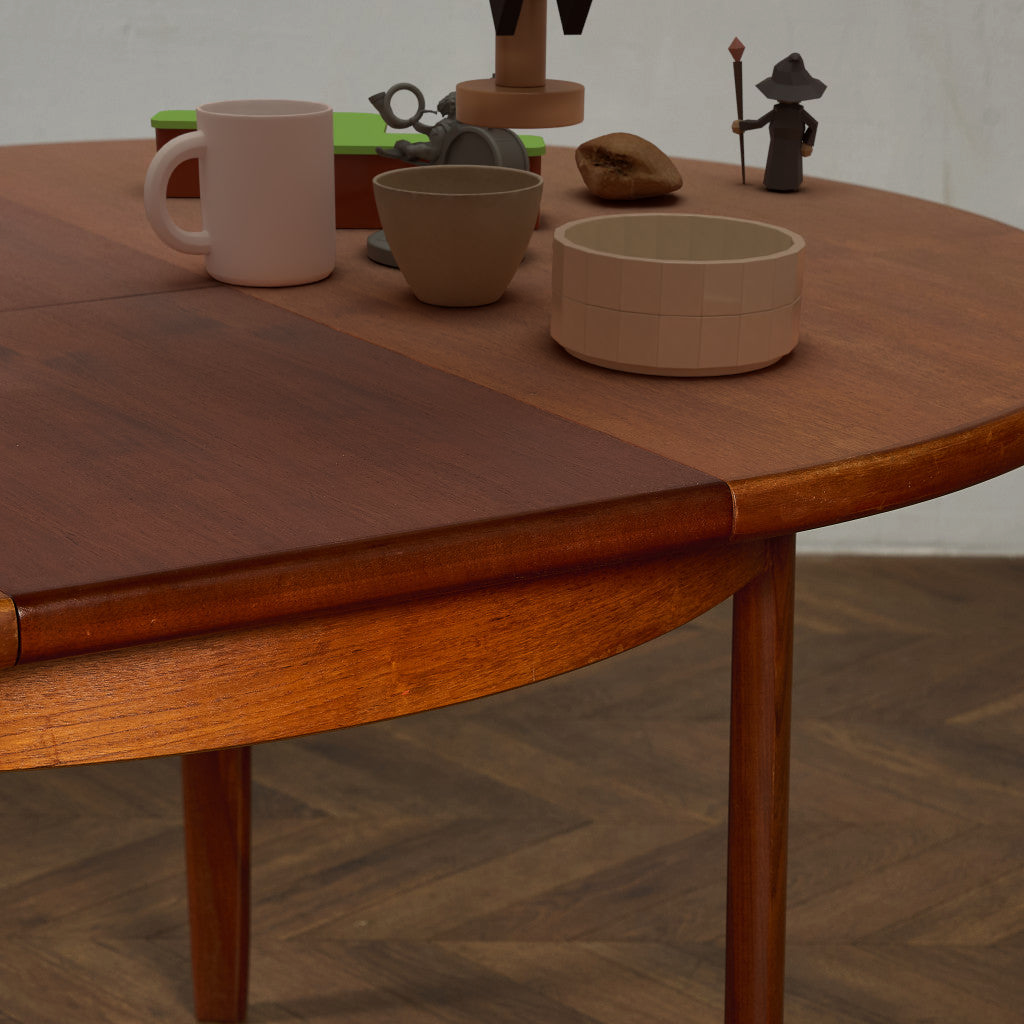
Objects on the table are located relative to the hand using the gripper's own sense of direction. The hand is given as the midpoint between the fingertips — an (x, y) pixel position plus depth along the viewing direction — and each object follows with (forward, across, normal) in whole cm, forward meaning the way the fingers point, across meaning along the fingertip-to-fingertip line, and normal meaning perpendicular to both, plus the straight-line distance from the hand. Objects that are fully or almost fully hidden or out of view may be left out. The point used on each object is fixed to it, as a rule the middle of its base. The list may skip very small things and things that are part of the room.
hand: (545, 12), depth 66 cm
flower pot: (-6, -2, -32) cm, 33 cm away
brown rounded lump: (-28, -23, -55) cm, 66 cm away
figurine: (-15, -4, -41) cm, 44 cm away
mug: (-12, +10, -38) cm, 41 cm away
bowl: (+3, -11, -23) cm, 26 cm away
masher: (+1, 0, -6) cm, 6 cm away
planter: (-28, 0, -54) cm, 61 cm away
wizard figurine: (-29, -36, -56) cm, 73 cm away
